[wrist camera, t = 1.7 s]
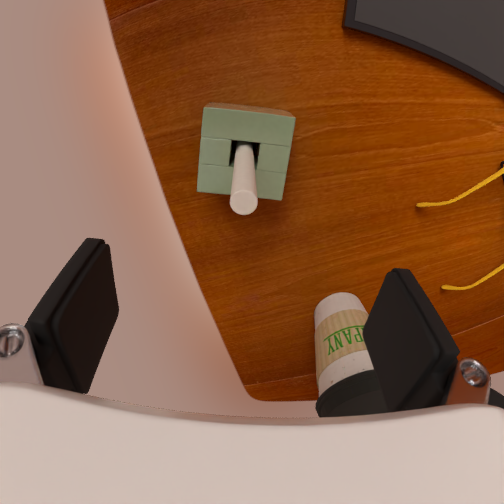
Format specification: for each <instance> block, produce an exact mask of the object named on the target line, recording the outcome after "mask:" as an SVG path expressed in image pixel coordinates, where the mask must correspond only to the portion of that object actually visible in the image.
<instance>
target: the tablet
mask: <svg viewBox="0 0 504 504" xmlns="http://www.w3.org/2000/svg"><path fill="white" fill-rule="evenodd" d="M342 27H344V28H348V29H351V30H355V31H358V32H362V33H365V34H368V35H372V36H375V37H378V38H381V39H384V40H387V41H390V42H393V43H396V44H398V45H401V46H404V47H406V48H409V49H412V50H414V51H417V52H419V53H422V54H424V55H426V56H429V57H431V58H433V59H436V60H438V61H440V62H442V63H445V64H447V65H449V66H451V67H453V68H455V69H457V70H459V71H461V72H463V73H465V74H467V75H469V76H471V77H473V78H475V79H477V80H479V81H481V82H482V83H484V84H486V85H488V86H490V87H491V88H493V89H495V90H496V91H498V92H500V93H501V94H503V95H504V0H345V7H344V14H343V21H342Z"/></svg>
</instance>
